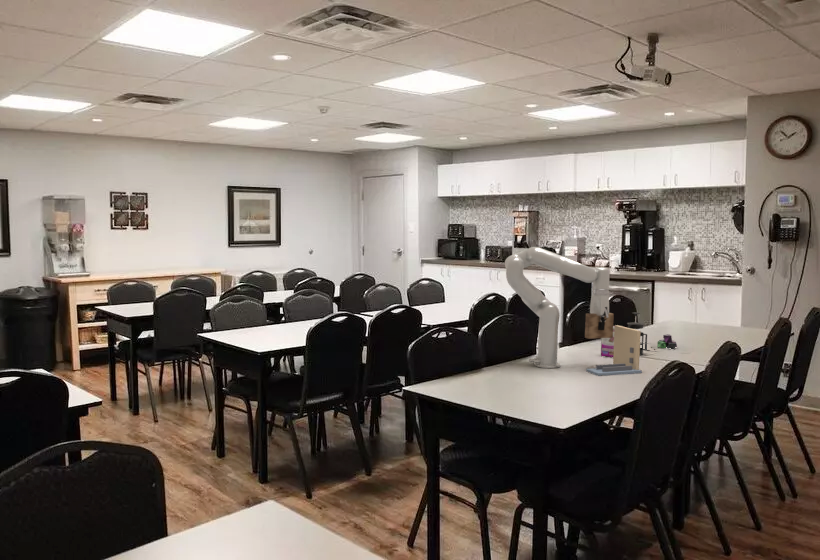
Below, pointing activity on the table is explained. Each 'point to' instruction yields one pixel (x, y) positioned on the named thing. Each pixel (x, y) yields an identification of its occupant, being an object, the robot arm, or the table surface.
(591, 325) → the door
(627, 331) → the cabinet side
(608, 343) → the candy bar box
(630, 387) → the table surface
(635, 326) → the french press
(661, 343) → the mineral sample
